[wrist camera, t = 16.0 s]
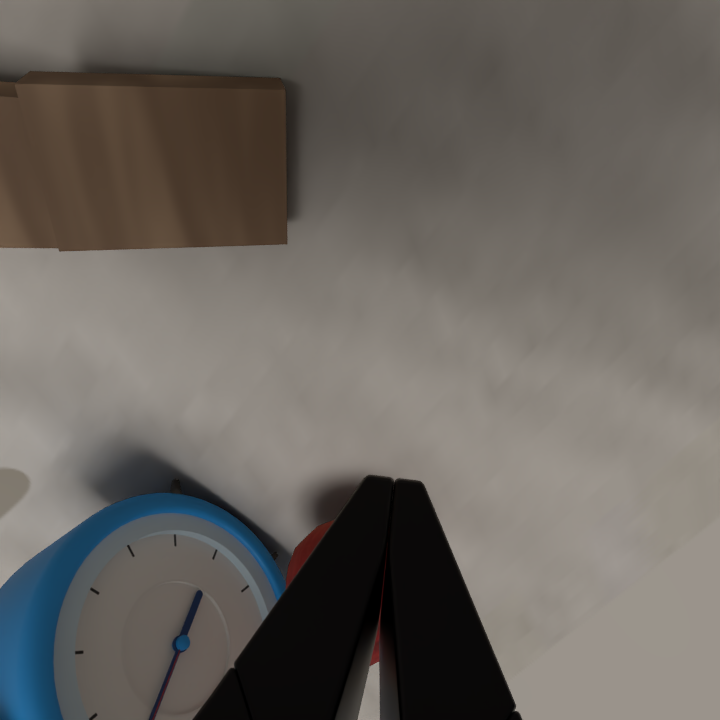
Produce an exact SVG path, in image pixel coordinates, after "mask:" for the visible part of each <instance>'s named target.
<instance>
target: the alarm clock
mask: <svg viewBox="0 0 720 720" xmlns="http://www.w3.org/2000/svg"><path fill="white" fill-rule="evenodd" d="M277 556H278V554H277V552H274V553H273V554H271V555H270V553H269V552H268V550H267V549H266V548H265V546H264V545H263V544H262V542H261V541H260V540H259V539H258V538H257V537H256V535H255V534H254V533H253V532H252V531H251V530H250V529H249V528H248V527H247V526H246V525H244V524H243V523H242V522H241V521H239V520H238V519H237V518H236V517H234V516H233V515H231V514H230V513H228V512H227V511H225V510H223V509H222V508H220V507H218V506H216V505H214V504H211V503H209V502H207V501H205V500H202V499H199V498H195V497H192V496H187V495H183V494H182V493H181V488H180V483H179V480H177V479H174V480H173V481H172V485H171V490H170V493H152V494H144V495H140V496H135V497H131V498H128V499H125V500H122V501H119V502H117V503H114V504H112V505H110V506H108V507H106V508H104V509H102V510H100V511H99V512H97V513H95V514H94V515H92V516H91V517H89V518H88V519H86V520H85V521H84V522H82V523H81V524H79V525H78V526H77V527H75V528H74V529H72V530H71V531H70V532H68V533H67V534H65V535H64V536H62V537H61V538H60V539H58V540H57V541H55V542H54V543H53V544H51V545H50V546H48V547H47V548H46V549H44V550H43V551H41V552H40V553H38V554H37V555H36V556H34V557H33V558H32V559H30V560H29V561H28V562H26V563H25V564H24V565H23V566H22V567H21V568H20V569H18V570H17V571H16V572H15V573H14V574H13V575H12V576H11V577H10V578H9V579H8V580H7V582H6V583H5V584H4V585H3V586H2V587H1V589H0V720H192V719H193V718H194V716H195V715H196V714H197V712H198V711H199V710H200V708H201V707H202V706H203V704H204V703H205V702H206V700H207V699H208V698H209V696H210V695H211V694H212V692H213V691H214V689H215V688H216V687H217V685H218V684H219V682H220V681H221V680H222V678H223V677H224V675H225V674H226V672H227V671H228V670H229V669H230V668H234V662H235V660H236V659H237V657H238V656H239V655H240V653H241V652H242V650H243V649H244V648H245V646H246V645H247V643H248V642H249V640H250V639H251V638H252V636H253V635H254V633H255V632H256V631H257V629H258V628H259V626H260V625H261V623H262V622H263V621H264V619H265V618H266V616H267V615H268V614H269V612H270V611H271V609H272V608H273V606H274V605H275V604H276V602H277V601H278V599H279V598H280V597H281V595H282V594H283V592H284V591H285V589H286V582H285V580H284V578H283V576H282V574H281V572H280V570H279V568H278V566H277V564H276V562H275V559H276V558H277Z"/></svg>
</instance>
